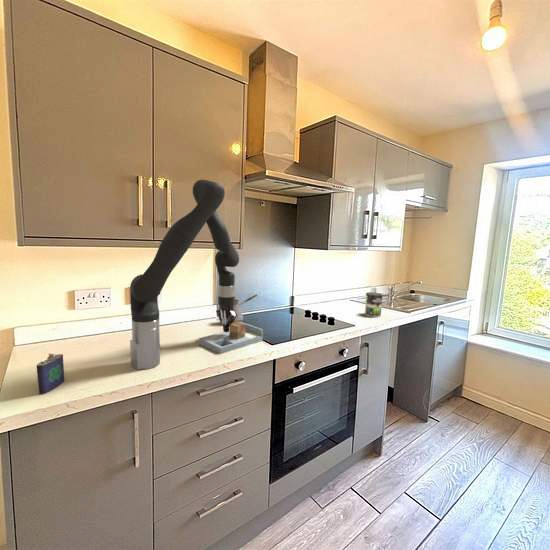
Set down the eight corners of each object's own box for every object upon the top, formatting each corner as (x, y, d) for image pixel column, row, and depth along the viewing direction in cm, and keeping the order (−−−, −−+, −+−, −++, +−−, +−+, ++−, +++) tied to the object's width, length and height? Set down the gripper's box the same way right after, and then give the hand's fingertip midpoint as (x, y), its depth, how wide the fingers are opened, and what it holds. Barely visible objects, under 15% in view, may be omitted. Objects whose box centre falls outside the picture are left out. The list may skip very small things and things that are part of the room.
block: (237, 339, 134) (238, 326, 134) (229, 337, 137) (229, 324, 136) (245, 336, 138) (245, 323, 138) (236, 334, 141) (237, 321, 140)
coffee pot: (227, 327, 159) (228, 299, 157) (219, 321, 169) (219, 295, 167) (262, 322, 171) (263, 296, 169) (252, 317, 181) (252, 292, 179)
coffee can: (384, 316, 192) (386, 295, 191) (369, 317, 190) (371, 295, 188) (375, 312, 202) (377, 292, 201) (361, 313, 200) (363, 292, 198)
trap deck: (220, 354, 124) (220, 341, 123) (198, 343, 134) (198, 331, 134) (262, 340, 141) (262, 329, 140) (240, 332, 152) (240, 321, 151)
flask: (59, 379, 98) (57, 348, 97) (68, 380, 98) (66, 348, 97) (35, 394, 89) (33, 359, 88) (45, 395, 89) (43, 360, 88)
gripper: (242, 296, 135) (241, 333, 138) (224, 291, 144) (223, 326, 147) (229, 298, 130) (228, 337, 132) (211, 293, 139) (210, 330, 141)
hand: (226, 331), depth 139 cm, fingers closed
